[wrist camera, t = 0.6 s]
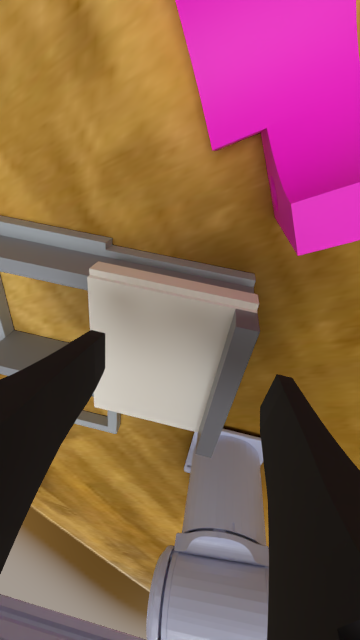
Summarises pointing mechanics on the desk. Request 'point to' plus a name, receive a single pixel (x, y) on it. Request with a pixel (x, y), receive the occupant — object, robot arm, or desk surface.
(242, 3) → the toy block
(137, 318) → the cover
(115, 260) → the gray square frame
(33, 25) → the desk surface
